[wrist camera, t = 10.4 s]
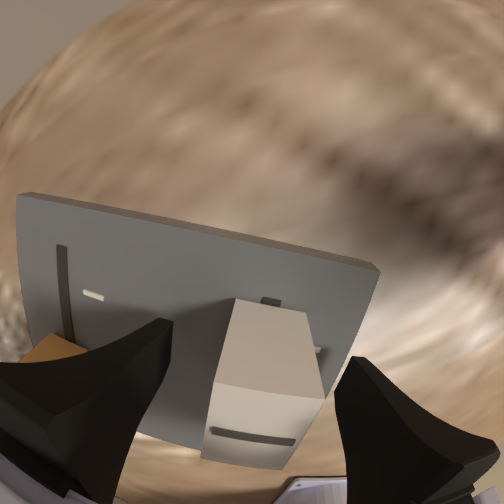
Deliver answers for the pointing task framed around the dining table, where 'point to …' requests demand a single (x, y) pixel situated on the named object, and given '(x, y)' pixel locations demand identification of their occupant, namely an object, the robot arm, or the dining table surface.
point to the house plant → (118, 501)
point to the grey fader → (263, 388)
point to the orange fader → (52, 350)
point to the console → (176, 293)
